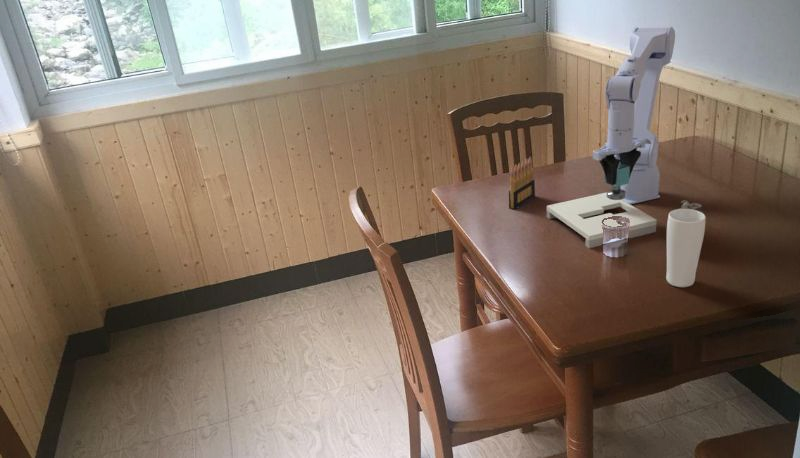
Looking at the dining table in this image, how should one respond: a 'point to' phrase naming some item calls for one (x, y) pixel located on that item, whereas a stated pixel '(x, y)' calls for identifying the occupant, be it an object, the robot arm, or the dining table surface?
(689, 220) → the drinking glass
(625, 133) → the robot arm
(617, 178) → the peg
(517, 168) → the ammunition clip
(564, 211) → the keyhole plate
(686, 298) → the dining table surface
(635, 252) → the dining table surface
